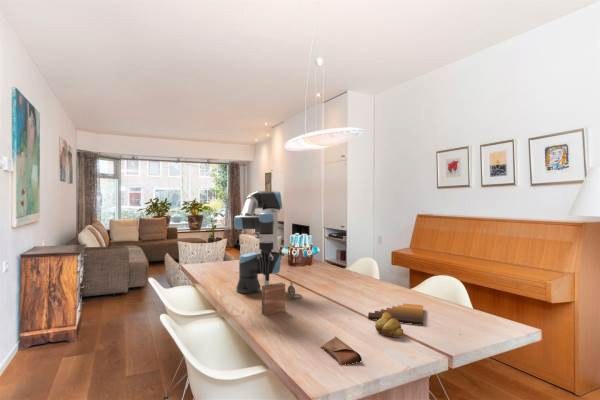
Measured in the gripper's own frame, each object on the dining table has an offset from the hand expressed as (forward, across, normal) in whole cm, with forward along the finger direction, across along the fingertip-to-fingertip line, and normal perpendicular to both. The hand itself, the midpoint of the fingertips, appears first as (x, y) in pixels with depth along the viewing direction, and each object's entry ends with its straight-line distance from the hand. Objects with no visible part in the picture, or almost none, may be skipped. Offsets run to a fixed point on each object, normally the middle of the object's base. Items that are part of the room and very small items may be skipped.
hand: (266, 286), depth 184 cm
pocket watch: (+12, -7, +24) cm, 28 cm away
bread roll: (+12, +61, +24) cm, 67 cm away
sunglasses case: (+13, +62, -6) cm, 64 cm away
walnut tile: (+12, +7, 0) cm, 14 cm away
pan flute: (+13, +47, +48) cm, 69 cm away
